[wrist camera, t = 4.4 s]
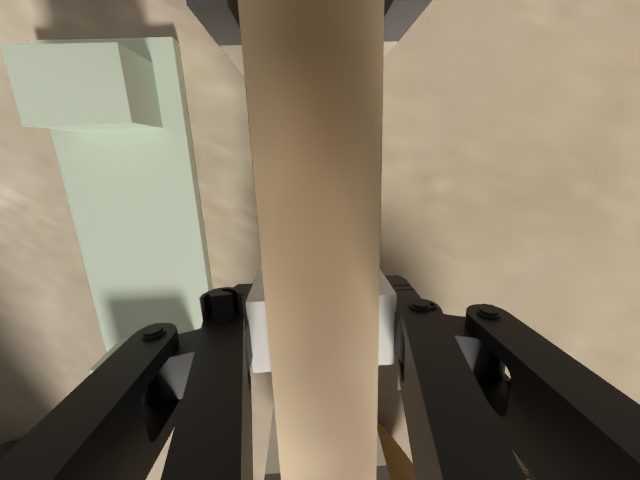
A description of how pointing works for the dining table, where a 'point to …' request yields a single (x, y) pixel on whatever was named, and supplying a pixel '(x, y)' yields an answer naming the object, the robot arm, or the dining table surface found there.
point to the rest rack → (122, 173)
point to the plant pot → (395, 457)
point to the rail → (319, 222)
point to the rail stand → (224, 26)
